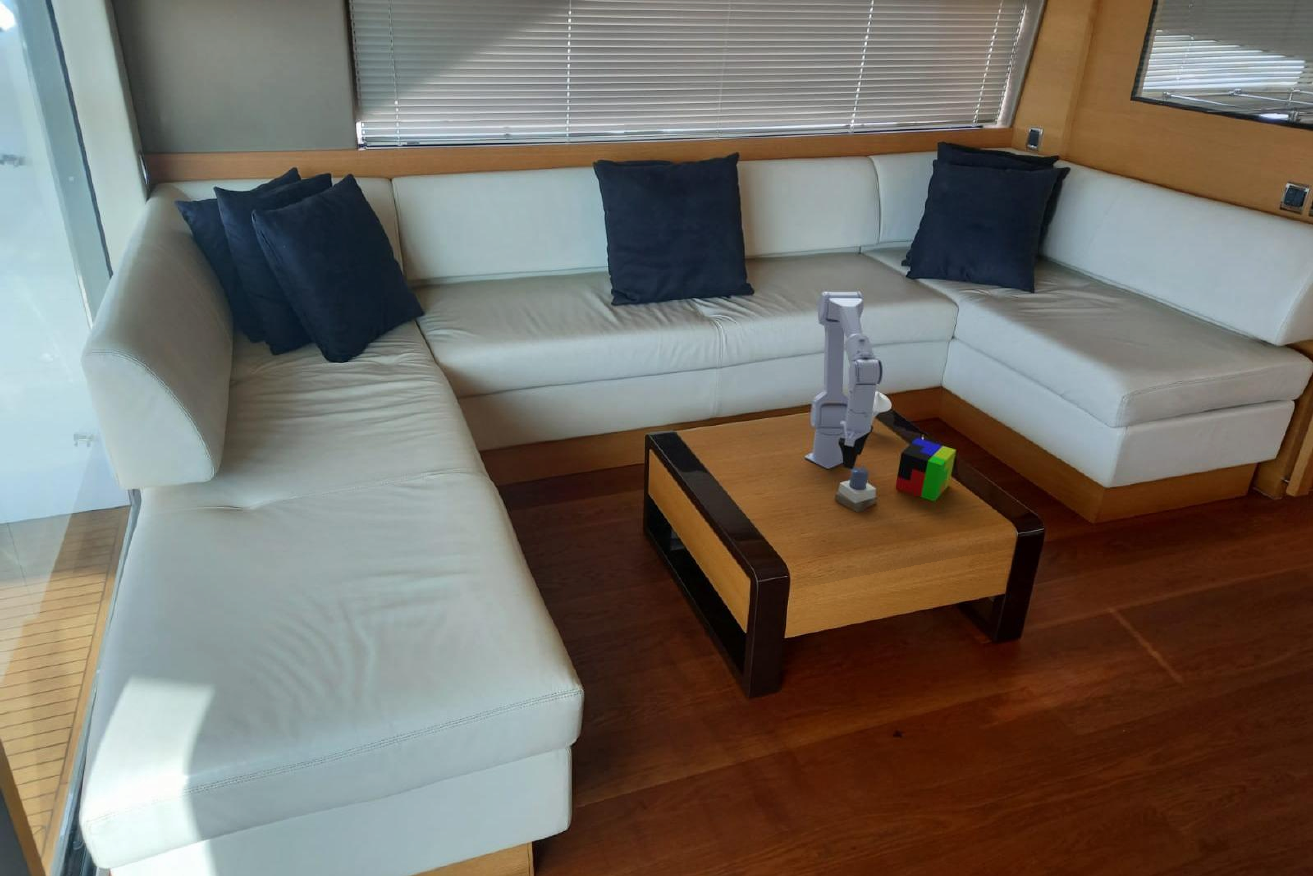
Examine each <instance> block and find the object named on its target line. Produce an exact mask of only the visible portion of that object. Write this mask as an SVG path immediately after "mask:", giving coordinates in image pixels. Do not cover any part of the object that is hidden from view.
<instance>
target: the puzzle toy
mask: <svg viewBox="0 0 1313 876" xmlns="http://www.w3.org/2000/svg"><path fill="white" fill-rule="evenodd" d="M956 451H957V450H956V449H954V448H951V447H948V446H944V445H940V444H937V443H934V442H931V441H928V440H924V439H921V438H915V439H914V440H913V441H912V442H911V443H910V444H909V445H908V446H907V447H906V448H905V449H903V451H902V452H901V453H900V459H899V466H898V470H897V475H896V476H897V477H896V483H895V488H894V489H896V490H899V491H903V492H905V493H909V494H911V495H913V496H918V497H920V498H924V499H927V500H929V501H932V502H936V500H937V499H938V498H939V497H940V496H941V495H942V494H943V493H944V491H945V490H946V489H947V488H948V487H949V485H950V481H951V477H952V471H953V467H954V463H955V462H954V461H955V457H956Z"/></svg>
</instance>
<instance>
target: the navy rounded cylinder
mask: <svg viewBox="0 0 1313 876" xmlns="http://www.w3.org/2000/svg"><path fill="white" fill-rule="evenodd" d="M849 477H850V478H849V480H850V482H849V486H850V487H851V488H852V489H855V490H864V489H865V488H866V485H867V483H868V479H869V470H868V469H867V468H864V467H861V466H854V467H853V469H851V470H850V475H849Z"/></svg>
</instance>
